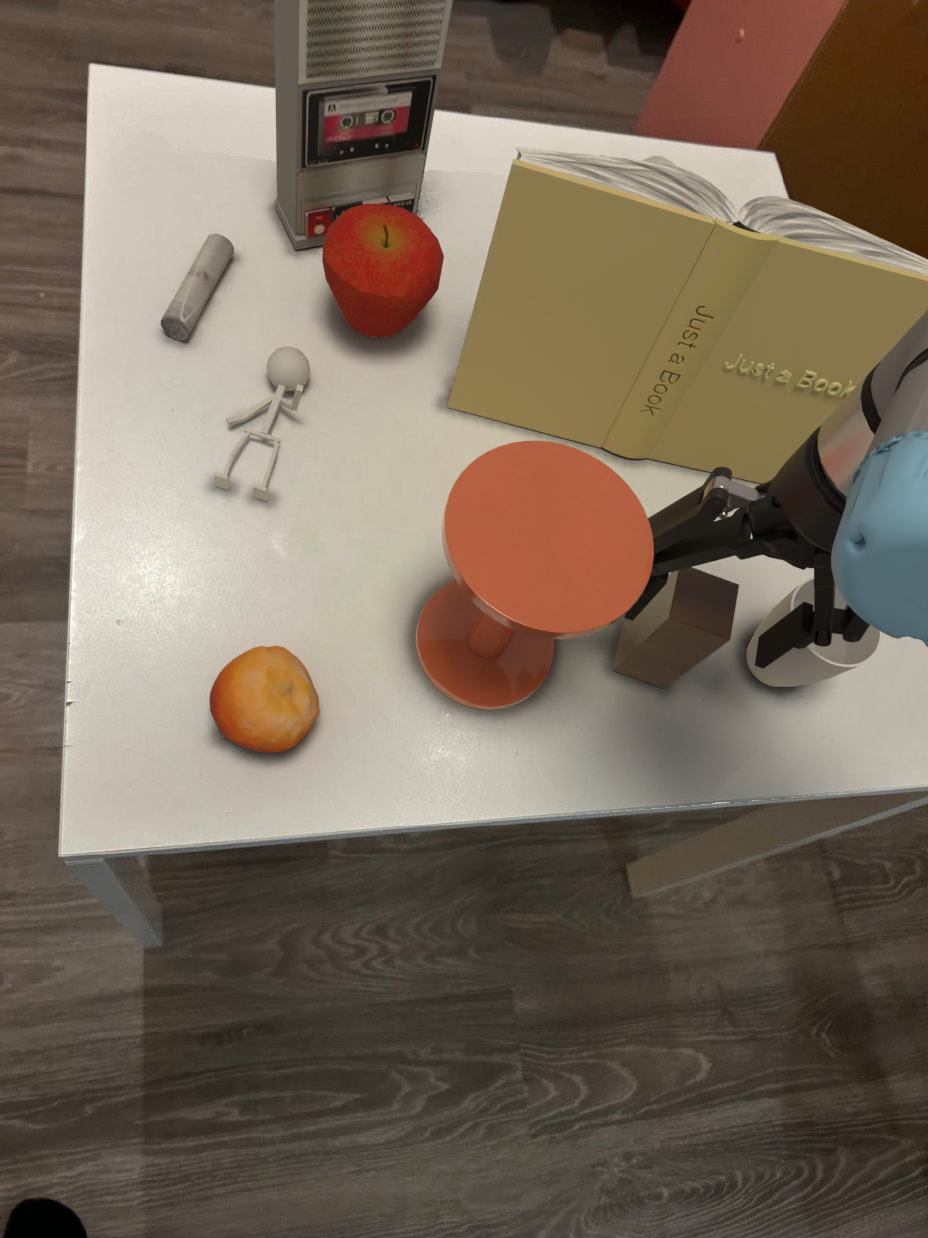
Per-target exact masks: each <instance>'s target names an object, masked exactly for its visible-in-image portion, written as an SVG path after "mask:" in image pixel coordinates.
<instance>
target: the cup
mask: <svg viewBox="0 0 928 1238" xmlns="http://www.w3.org/2000/svg"><path fill="white" fill-rule="evenodd" d="M803 602H807V603H810V604H812V605H813V611H814V575H813V576H810V577H808V578H806V579H804V580H802V582H801V583H800V584H798V585H797V586H796V587H795V588H794V589H792V591H790V592H789V593H788V594H787V595H786V596H785V597H784V598H783V599H781V600H780V601H779V602H778V603H777V604H775V605H774V607H773V608H772V609H771V610H770V612H769V613H768V614H767V615H766V617H765V618H764V619H763V620H762V621H761V623H760V624H759V625H758V626H757V628H756V629H755V631H754V633H753V636H752V637H751V639H750V642H749V643H748V646H747V648H746V653H745V658H746V663H747V666H748V668H749V670H750V672H751V673H752V675H753V676H754V677H755V678H756V679H757V680H758V681H759V682H761V683H763V684H764V685H766V686H769V687H774V688H782V687H783V688H786V687H800V686H805V685H809V684H813V683H817V682H820V681H821V682H822V681H825V680H828V679H832V678H834V677H836V676H839V675H840V674H843V673H846V672H849V671H851V670H853V669H855V668H857V667H861V666H863V665H865V664H867V663H869V662H870V661H871V660H872V659H873V658H874V657H875V656H876V655H877V653H878V652H879V650H880V647H881V645H882V641H883V640H882V639H883V632H881V631H879V630H877V629H876V628H874V627H873V626H871V625H870V626H869V628H868V629H867V631H866V632H865V634H864V635H863V637H862V638H861V640H860V641H858V642H847V641H845V640H843V638H842V635H840V634H833V633H832V640H831V645H829V646H826V647H821V646H817V645H815V644H814V643H811V644H809V646H807V647H806V648H802V649H797V648H793V649H791V650H790V651H788V652H787V653H785V654H784V655H783V656H781V657H780V658H778V659H777V660H775V661H774V662H772V663H771V664H770V665H768V666H767V667H765V668H764V669H763V668H760V667H757V666H755V660H756V653H757V646H758V639H759V636H760V635H761V634H763V633H764V632H765V631H767V630H768V629H769V628H770V627H772V626H773V625H774V624H776V623H777V622H778V621H779V620H781V619H782V618H783V617H785V616H786V615H787V614H789V613H790V612H791V611H792V610H794V609H795V608H796V607H798V606H799V605H800V604H801V603H803ZM846 605H847V603H846V602H845V600H844V599H843V597H842V596H841V594H840V592H839V590H838V588H837V586H836V590H835V608H839V609H845V607H846Z"/></svg>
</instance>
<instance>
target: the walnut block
mask: <svg viewBox="0 0 928 1238" xmlns="http://www.w3.org/2000/svg"><path fill="white" fill-rule="evenodd" d="M739 588H740V584H738V583H736V582H733V581H730V580H728V579H725V578H723V577H720V576H717V575H714V574H711V573H708V572H706V571H704V570H700V569H697V568H695V567H689V568H686V569H682V570H678V571H674V572H670V573H669V575H668V580H667V584H666V585H665V586H664V587H663V588H662V589H661V590H660V591H659V593H658V594H657V595H656V596H655V597H654V598H653V599H652V600H651V601H650V602H649V604H648V605H647V606H646V607H645V608H644V609H643V610H642V611H641V612H640V614H639V615H638V616H637V617H636V618H635V619H634V620H633V621H632V620H629V619H626V618H625V620H624V621H623V623H622V626H621V630H620V635H619V638H618V642H617V643H618V644H617V647H616V652H615V656H614V660H613V665H612V671H613V672H616V673H619V674H621V675H624V676H626V677H630V678H632V679H635V680H638V681H641V682H644V683H646V684H649V685H652V686H654V687H658V688H661V689H664V690H665V689H666V688H668V687H669V686H670V685H672V684H673V683H674V682H676V681H677V680H678V679H680V678H681V677H683V676H684V675H686V674H687V673H688V672H690V671H691V670H693V669H694V668H695V667H696V666H697V665H699V664H700V663H702V662H703V661H704V660H705V659H707V658H709V657H710V656H711V655H712V654H713V653H715V652H716V651H718V650H719V649H721V648H722V647H723V646H725V645H726V644H727V643H728V642H730V641H731V639H732V632H733V625H734V620H735V614H736V613H735V612H736V607H737V601H738V596H739V595H738V594H739Z"/></svg>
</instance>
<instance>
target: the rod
mask: <svg viewBox="0 0 928 1238" xmlns="http://www.w3.org/2000/svg"><path fill="white" fill-rule="evenodd" d="M234 254H235V246H234V245H233V243H232V242H231V240H230V239H229V238H227V237H225V236H224V235H222V234H220V233H210V234H208V236H207V237H206V239H205V241H204V242H203V244H202V246H201V248H200V249H199V252H198V254H197V255H196V257H195V258H194V260H193V263H192V264H191V266H190V268H189V270H188V272H187V273H186V275H185V276H184V278H183V280H182V282H181V284H180V286H179V288H178V289H177V291H176V293H175V295H174V296H173V298H172V300H171V301H170V304H169V305H168V307H167V309H166V310H165V312H164V313H163V315H162V318H161V320H160V326H161V328H162V329H163V331H164V332H165V334H166V335H167V336H169V337H170V338H171V339H173V340H175V341H184V340H186V339H187V338H188V337H189V336H190V334H191V332H192V331H193V328H194V327H195V325H196V323H197V320H198V318H200V317H199V316H200V315H201V313H202V311H203V310H204V307H205V306H206V304H207V302H208V300H209V299H210V296H211V295H212V292H213V291H214V289H215V287H216V285H217V284H218V281H219V280H220V278H221V277H222V275H223V272H224V271H225V269H226V267H227V266H228V264H229V262H230V260H231V259H232V257H233V255H234Z"/></svg>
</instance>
